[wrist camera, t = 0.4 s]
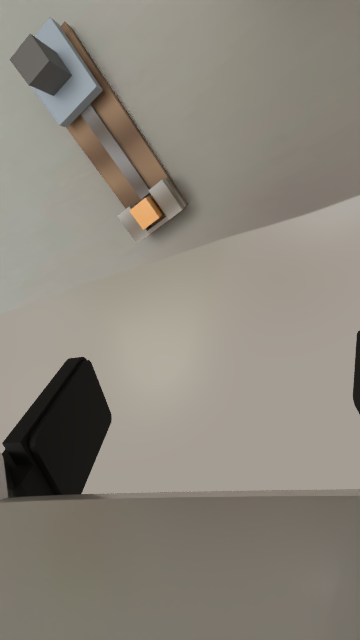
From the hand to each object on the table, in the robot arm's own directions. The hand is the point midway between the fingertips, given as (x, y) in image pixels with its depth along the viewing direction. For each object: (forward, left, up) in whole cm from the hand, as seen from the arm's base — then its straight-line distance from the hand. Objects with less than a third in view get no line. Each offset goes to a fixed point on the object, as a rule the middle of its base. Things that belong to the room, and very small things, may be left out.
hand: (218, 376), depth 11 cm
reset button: (-6, -6, -30) cm, 32 cm away
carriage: (-23, -6, -32) cm, 40 cm away
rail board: (-16, -6, -35) cm, 39 cm away
